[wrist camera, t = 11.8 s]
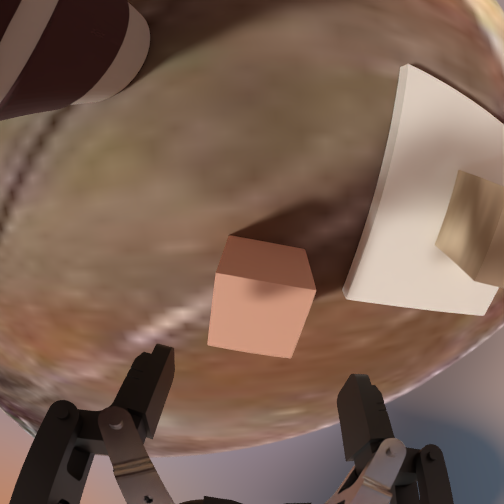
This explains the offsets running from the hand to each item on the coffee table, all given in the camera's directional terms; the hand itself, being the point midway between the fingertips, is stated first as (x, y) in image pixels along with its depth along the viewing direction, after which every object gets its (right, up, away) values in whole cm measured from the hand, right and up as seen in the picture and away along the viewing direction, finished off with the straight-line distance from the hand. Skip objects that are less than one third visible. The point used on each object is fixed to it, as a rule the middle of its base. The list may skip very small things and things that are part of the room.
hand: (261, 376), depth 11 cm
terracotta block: (0, +4, +8) cm, 9 cm away
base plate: (+15, +8, +4) cm, 18 cm away
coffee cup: (-10, +19, +1) cm, 21 cm away
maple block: (+15, +8, +3) cm, 18 cm away
